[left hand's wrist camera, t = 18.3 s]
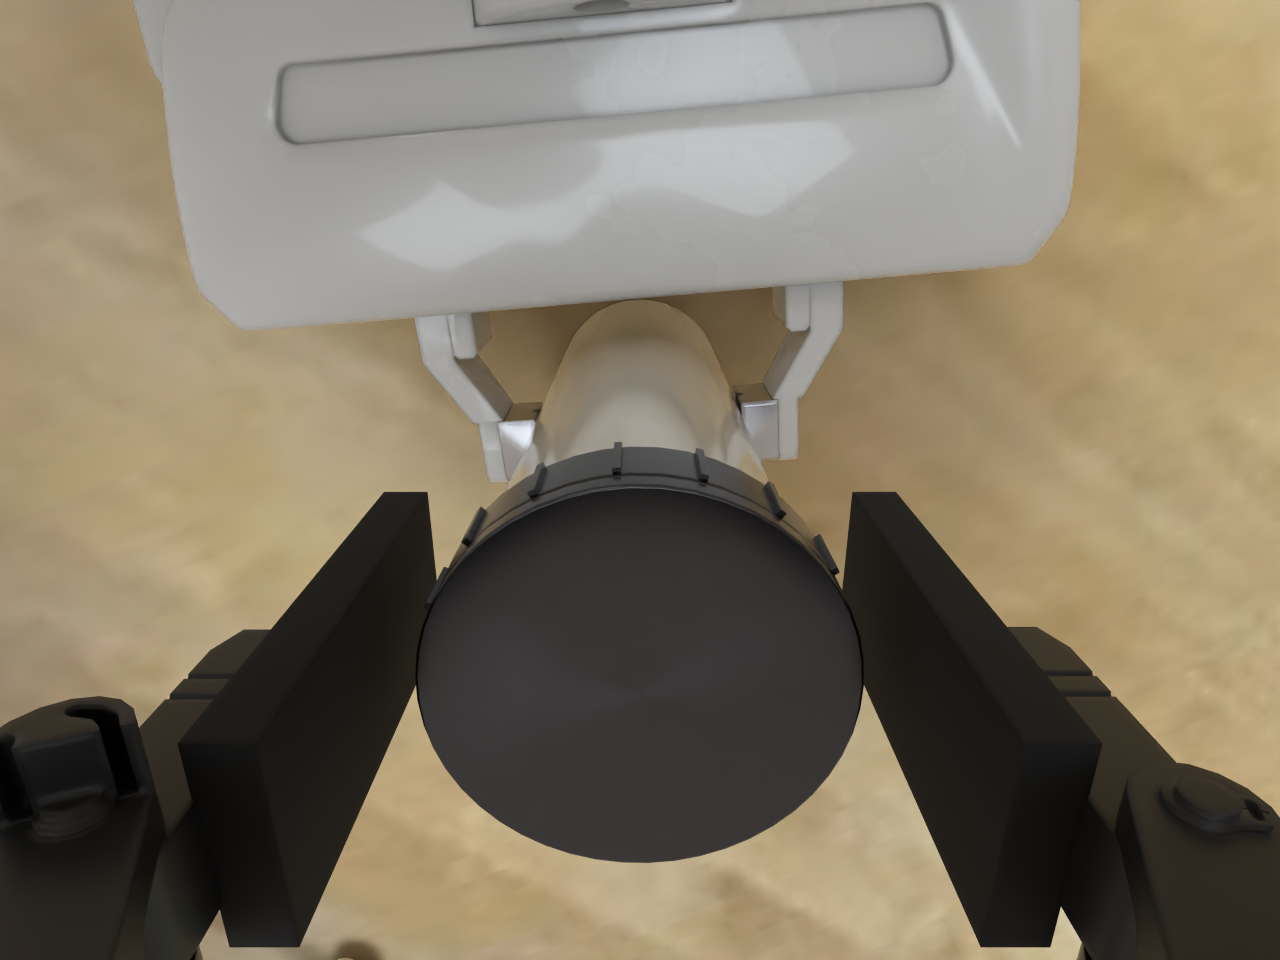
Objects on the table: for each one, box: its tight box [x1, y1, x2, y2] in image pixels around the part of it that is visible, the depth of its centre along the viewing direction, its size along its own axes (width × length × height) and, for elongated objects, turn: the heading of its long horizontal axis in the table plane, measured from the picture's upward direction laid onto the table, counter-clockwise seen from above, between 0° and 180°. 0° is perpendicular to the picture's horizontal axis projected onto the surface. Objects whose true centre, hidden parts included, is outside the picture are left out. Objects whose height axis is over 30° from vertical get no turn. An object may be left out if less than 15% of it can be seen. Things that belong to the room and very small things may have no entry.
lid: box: [415, 442, 864, 863], centre depth 11 cm, size 6×6×2 cm
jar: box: [505, 300, 769, 492], centre depth 19 cm, size 5×5×17 cm
